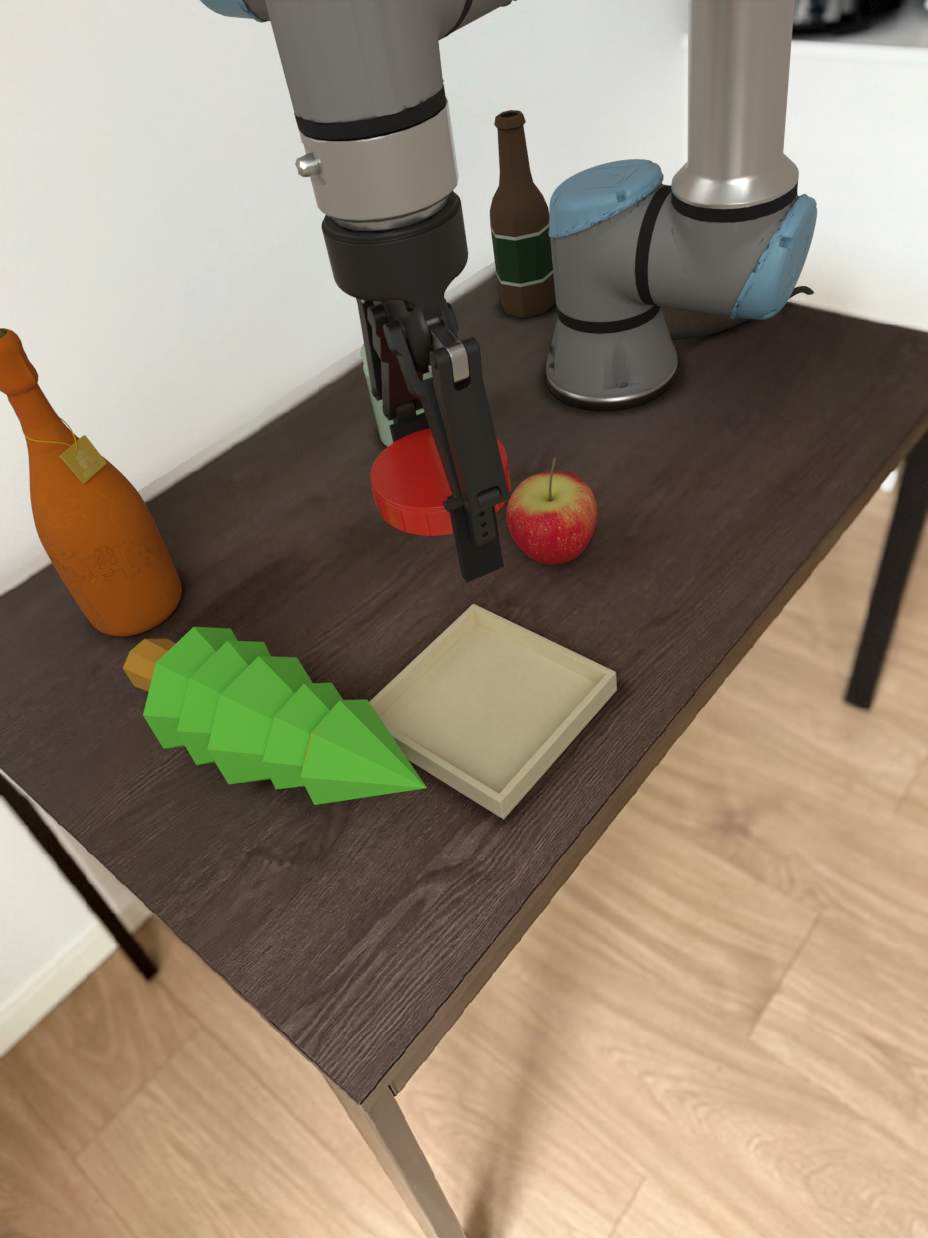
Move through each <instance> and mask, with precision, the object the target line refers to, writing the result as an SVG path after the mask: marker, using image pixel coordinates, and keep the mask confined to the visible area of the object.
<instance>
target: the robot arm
mask: <svg viewBox="0 0 928 1238" xmlns="http://www.w3.org/2000/svg"><path fill="white" fill-rule="evenodd" d="M199 1H200V2H201V3H202V5H204V6H205V7H206V8H207V9H209V10H211V11H212V12H214V13H215V14H218V15H221V16H223V17H227V18H236V19H248V20H249V19H250V20H254V21H255V22H258V23H263V24H264V23H268V22H270V25H271V29H272V33H273V37H274V39H275V40H274V41H275V44H276V48H277V52H278V56H279V60H280V64H281V66H282V70H283V75H284V79H285V82H286V83H285V84H286V86H287V90H288V93H289V97H290V100H291V105H292V109H293V116H294V120H295V122H296V125H297V129H298V133H299V137H300V142H301V144H303V146H304V152H305V154H304V155H302V156H300V157H298V158H297V157H296V160H295V162H294V164H295V167H296V170H297V175H298V176H300V177H302V178H310V182H311V187H312V189H313V190H312V191H313V195H314V198H315V199H314V200H315V203H316V207H317V209H318V210H319V211H320V212H321V213H323V214H324V218H323V219H322V221H321V226H320V227H321V232H322V234H323V240H324V244H325V247H326V251H327V256H328V261H329V264H330V268H331V272H332V273H331V274H332V277H333V279H334V282H335V284H336V286H337V287H338V289H340V290H341V291H342V293H344V294H346V295H348V296H350V297H352V298H354V299H355V300H356V304H357V309H358V315H359V322H360V323H359V324H360V328H361V334H362V341H363V344H364V347H365V353H366V359H367V365H368V371H369V377H370V383H371V388H372V390H371V392H372V395H373V397H375V399H376V400H377V401H380V400H382V404H383V406H382V409H383V414H384V416H385V417H386V418H387V419H388V421H390V420H393V424H392V425H389V427H390V431H391V435H392V440H393V443H394V442H396V441H397V440H399V439H401V438H403V437H405V436H407V435H409V434H412V433H415V432H418V431H421V430H424V429H429V428H430V430H431V433H432V436H433V439H434V442H435V445H436V448H437V451H438V454H439V457H440V460H441V463H442V466H443V468H444V471H445V474H446V477H447V480H448V483H449V486H450V489H451V492H452V495H451V496H448V497H447V500H445V501H442V503H443V506H444V508H445V509H446V511H447V512H450V517H451V522H452V527H453V532H454V533H453V536H454V543H455V547H456V553H457V558H458V563H459V567H460V574H461V578H463V580H464V581H465V582H466V583H469V582H472V581H475V580H477V579H479V578H482V577H484V576H486V575H489V574H491V573H494V572H495V571H499V570H500V569H503V568H504V566H505V565H504V559H503V551H502V545H501V539H500V532H499V526H498V518H497V513H496V512H495V505H496V504H499V503H501V502H504V501H506V502H507V501H509V500H510V497H511V495H510V493H509V489H508V486H507V482H506V478H505V473H504V469H503V465H502V460H501V456H500V452H499V447H498V443H497V439H498V438H497V435H496V431H495V425H494V422H493V417H492V414H491V408H490V404H489V400H488V396H487V392H486V391H487V390H486V387H485V382H484V375H483V364H482V354H481V346H480V344H479V342H478V341H477V339H476V338H475V337H474V336H473V335H472V336H469V337H467V338H463V339H461V340H459V337H458V333H459V323H458V320H457V317H456V314H455V311H454V309H453V306H452V305H451V304H450V302H447V299H446V298H445V293H446V291H447V289H448V288H449V286H450V285H451V284H452V283H453V281H455V279H457V278H458V277H459V276H460V275H461V273H462V272H463V271H464V269H465V268H466V266H467V263H468V261H469V248H468V247H469V246H468V242H467V234H466V227H465V220H464V213H463V212H464V211H463V205H462V200H461V197H460V196H459V195H458V193H456V192H455V191H454V190H455V189H456V188H457V186H458V182H459V177H460V175H459V170H458V169H459V168H458V162H457V161H458V160H457V153H456V148H455V147H456V146H455V140H454V132H453V127H452V119H451V112H450V105H449V100H448V98H447V95H446V89H445V84H444V82H445V80H444V78H443V69H442V60H441V59H442V58H441V51H440V43H439V41H441V40H442V39H445V38H447V37H449V36H450V35H451V34H453V33H455V32H456V31H459V30H460V29H461V28H464V27H466V26H468V25H469V24H472V23H473V22H476V21H477V20H478V19H481V18H482V17H485V16H486V15H488V14H490V13H492V12H494V11H495V10H497V9H499V8H501V7H502V8H505V7H508V6H509V5H511V4H512V2H517V1H518V0H199ZM795 2H796V1H795V0H687V161H686V162H685V163H684V164H683V165H682V166H681V167H680V168H679V170H677V172H675V174H674V175H673V177H672V179H671V184H664V183H663V181H664V173H663V172H662V168H661V166H660V165H659V164H658V163H657V162H653V161H652V160H649V159H644V158H630V159H629V158H628V159H622V160H621V159H620V160H615V161H609V162H605V163H601V164H598V165H595V166H591V167H589V168H586V169H584V170H581V171H579V172H577V173H574V174H573V175H572V176H569V177H568V178H566V179H565V180H564V181H562V182H561V183H560V184H559V185H558V186H557V187H556V188H555V189H554V191H553V192H552V194H551V196H550V199H549V206H548V208H549V231H548V232H549V237H550V240H551V251H552V263H553V274H554V285H555V296H556V303H555V305H556V318H557V319H556V324H555V328H554V332H553V335H552V337H551V340H550V343H549V346H548V350H547V353H546V355H547V359H546V364H545V375H546V376H545V377H546V384H547V387H548V389H549V391H550V393H551V394H552V395H553V396H554V397H556V398H557V399H558V400H559V401H561V402H562V403H565V404H567V405H570V406H573V407H576V408H580V409H586V410H592V411H617V410H623V409H630V408H634V407H637V406H641V405H643V404H644V405H645V404H646V403H649V402H651V401H653V400H655V399H657V398H658V397H660V396H662V395H663V394H664V393H666V392H667V391H668V390H669V389H671V387H672V386H673V385H674V383H675V381H676V379H677V377H678V354H677V350H676V348H675V345H674V343H673V342H674V341H681V340H687V339H698V338H704V337H707V336H711V335H714V334H718V333H721V332H724V331H726V330H729V329H731V328H734V327H737V326H739V325H742V324H745V323H746V322H749V321H751V320H757V321H765V320H769V319H771V318H773V317H775V316H776V315H777V314H779V313H780V312H781V311H782V310H783V308H784V307H785V306H786V304H787V303H788V301H789V300H790V299H792V298H793V297H795V296H796V295H798V294H805V295H807V296H811V295H813V294H815V291H814V290H813V289H812V288H811V287H809V286H806V285H799V286H796V285H797V284H798V281H799V279H800V276H801V274H802V271H803V269H804V266H805V264H806V261H807V258H808V254H809V252H810V248H811V245H812V242H813V238H814V234H815V229H816V224H817V219H818V207H817V205H818V204H817V201H816V199H815V198H814V197H812V196H809V195H808V194H807V193H802V194H800V195H799V193H798V191H799V190H798V189H799V188H798V187H799V178H800V170H799V168H798V166H797V164H796V163H795V162H793V161H792V159H790V158H789V156H787V154H785V153H784V151H785V150H784V149H785V138H786V137H785V135H786V122H787V110H788V109H787V108H788V105H787V104H788V97H789V96H788V95H789V81H790V69H791V68H790V67H791V53H792V41H793V27H794V13H795ZM662 308H667V309H668V308H669V309H674V310H680V311H681V310H682V311H687V312H688V311H689V312H695V313H702V314H710V315H716V316H722V317H728V318H729V319H730V320H729V321H726V322H723V323H720V324H717V325H714V326H710V327H707V328H704V329H699V330H692V331H691V330H690V331H682V332H681V331H680V332H675V333H670V331H669V328H668V325H667V322H666V319H665V315H664V314H663V313H664V312H663V309H662ZM428 372H430V374H431V375H432V377H430V378H427V379H425V380H423V374H425V373H428ZM381 377H382V379H381ZM422 408H423V409H424V412H423V413H421V414H418V415H417V414H416V411H417V410H420V409H422ZM496 438H497V439H496Z"/></svg>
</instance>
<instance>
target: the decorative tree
mask: <svg viewBox="0 0 928 1238" xmlns="http://www.w3.org/2000/svg"><path fill="white" fill-rule="evenodd" d="M122 670H123V671H124V673H125V674H126V676H127V677H128V679H129V681H130V682H131V683H132V685H133V687H135V688H137V689H140V690H143V691H145V692H148V693H147V696H146V701H145V706H144V709H143V713H142V716H143V718H144V720H145V721H146V722H147V724H148V726H149V728H150V729H151V731H152V732H153V734H154V736H155V737H156V739H157V741H158V743H159V744H160V746H161V748H162V749H164V750H165V749H174V748H184V747H185V748H186V750H187V752H188V754H189V755H190V757H191V758H192V760H193V762H194V764H195V765H196V766H200V765H207V764H215V765H216V766H217V768H218V770H219V771H220V773H221V775H222V776H223V778H224V780H225V781H226V783H227V784H228V785H234V784H235V785H236V784H244V783H252V782H261V781H262V782H263V781H269V780H270V781H271V783H272V785H273V787H274V789H275V790H281V789H290V788H291V789H292V788H298V787H299V788H300V787H301V788H302V787H305V790H306V791H307V793H308V795H309V797H310V800H311V801H312V803H313V805H314V806H316V805H322V804H323V805H324V804H330V803H336V802H342V801H343V802H344V801H351V800H357V799H363V798H371V797H378V796H384V795H390V794H397V793H403V792H411V791H417V790H423V789H424V790H425V789H427V788H428V787H427V785H426V784H425V783H424V781H423V780H422V778H421V777H420V775H419V774H418V772H417V771H416V769H415V768H414V766H413V765H412V763H411V761H409V760H408V759H407V758H406V756H405V755H404V753H403V752H402V750H401V749H400V747H399V746H398V744H397V743H396V741H395V740H394V739H393V737H392V736H391V734H390V733H389V731H388V730H387V728H386V727H385V725H384V724H383V722H382V721H381V719H380V718H379V716H378V715H377V713H376V712H375V710H374V709H373V707H372V706H371V704H370V703H369V702H370V700H368V699H343V697H342V696H341V694H340V693H339V691H338V690H337V689H336V687H335V686H334V684H333V683H332V682H315V683H313V680H311V678H310V676H309V675H308V673H307V671H306V670H305V668H304V666H303V664H302V663H301V662H300V660H299V659H298V657H297V656H296V657H295V656H273V655H271V654H270V652H269V650H268V647H267V646H266V643H265V641H247V640H246V641H245V640H238V639H237V637H236V635H235V634H234V632H233V629H232V628H228V627H227V628H225V627H208V626H207V627H205V626H192V628H191V629H190V630H188V632H187V633H186V634H184V635H183V636H182V637H181V638H180V639H179V640H178V641H177V642H175V641H172V640H170V639H169V638H144V639H143V640H141V641H140V642H139V643H138V644H136V645H135V646H134V647H133V648H132V649H130V651H129V652H128V655H127V657H126V659H125V661H124V664H123V666H122Z"/></svg>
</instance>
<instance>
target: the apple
mask: <svg viewBox="0 0 928 1238" xmlns="http://www.w3.org/2000/svg"><path fill="white" fill-rule="evenodd" d="M556 462H557V457H553V458H552V463H551V469H550V471H545V472H540V473H536V474H533V475H531V476H529V477H526V478H525V479H524V480H522V481H521V482H520V483H519V485H518V486H517V487H516V488H515V489H514V490H513V492H512V494H511V495H510V497H509V500H508V502H507V505H506V515H505V517H506V524H507V528H508V531H509V533H510V536H511V538H512V540H513V542H514V543H515V544H516V546H517V547H518V548H519V550H521V551H522V553H523V554H525V556H527V557H528V558H529V559H531V560H532V561H534V562H535V563H538V564H540V565H546V566H555V565H562V564H567V563H570V562H572V561H574V560H575V559H577V558H578V557H580V555H581V554H582V553H583V552H584V550H585V549H586V548H587V546H588V545H589V543H590V541H591V540H592V538H593V536H594V533H595V531H596V526H597V522H598V504H597V500H596V496H595V494H594V493H593V490H592V489H591V487H590V486H589V485H588V484H587V482H585V481H584V480H583V479H581V478H580V477H578V476H577V475H575V474H573V473H571V472H566V471H559V470H556V471H555V466H556Z"/></svg>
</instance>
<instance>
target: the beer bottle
mask: <svg viewBox="0 0 928 1238" xmlns="http://www.w3.org/2000/svg"><path fill="white" fill-rule="evenodd" d="M526 123H527V120H526V118H525V114H524V113H523V111H521V110H518V109H509V110H504V111H502V112H500V113H499V114H497V115H496V116H495V117H494V123H493V125H494V127H495V128H496V130H497V147H498V149H497V151H498V167H499V176H498V177H499V179H498V186H497V188H496V190H495V192H494V194H493V197H492V199H491V203H490V208H489V226H490V235H491V242H492V251H493V258H494V260H493V261H494V267H495V275H496V282H497V291H498V297H499V302H500V306H501V307H502V309H503V311H504V313H505V315H507V316H509V317H510V316H511V317H516V318H521V319H526V318H527V319H528V318H531V317H535V316H539V315H545V314H546V313H547V312H548V311H549V310H551V308H552V307H553V306H554V305H556V296H555V285H554V274H553V263H552V251H551V240H550V237H549V232H548V231H549V206H548V203H547V202H546V201H547V200H546V199H545V196H544V194H543V193H542V192H541V191H540V189H539V188H538V186H537V185H536V184H535V182H534V179H533V175H532V172H531V167H530V159H529V152H528V145H527V138H526V133H525V127H524V125H525V124H526Z"/></svg>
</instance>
